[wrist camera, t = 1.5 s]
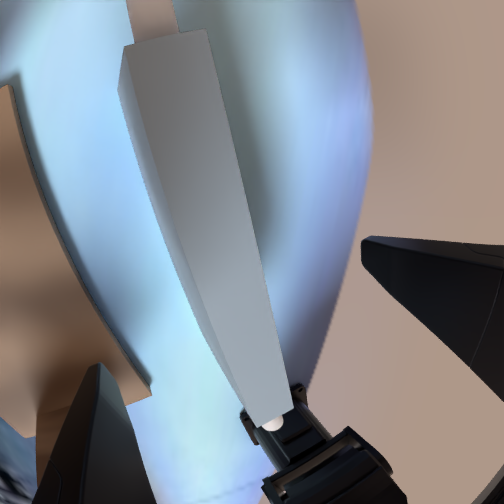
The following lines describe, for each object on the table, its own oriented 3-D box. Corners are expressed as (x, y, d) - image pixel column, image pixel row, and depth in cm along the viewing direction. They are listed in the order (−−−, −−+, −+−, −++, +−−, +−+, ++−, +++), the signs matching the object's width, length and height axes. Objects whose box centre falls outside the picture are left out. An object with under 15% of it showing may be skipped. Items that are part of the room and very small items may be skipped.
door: (236, 341, 21) (297, 425, 14) (210, 353, 20) (264, 443, 13) (148, 43, 11) (190, -33, 5) (108, 55, 11) (111, -19, 4)
